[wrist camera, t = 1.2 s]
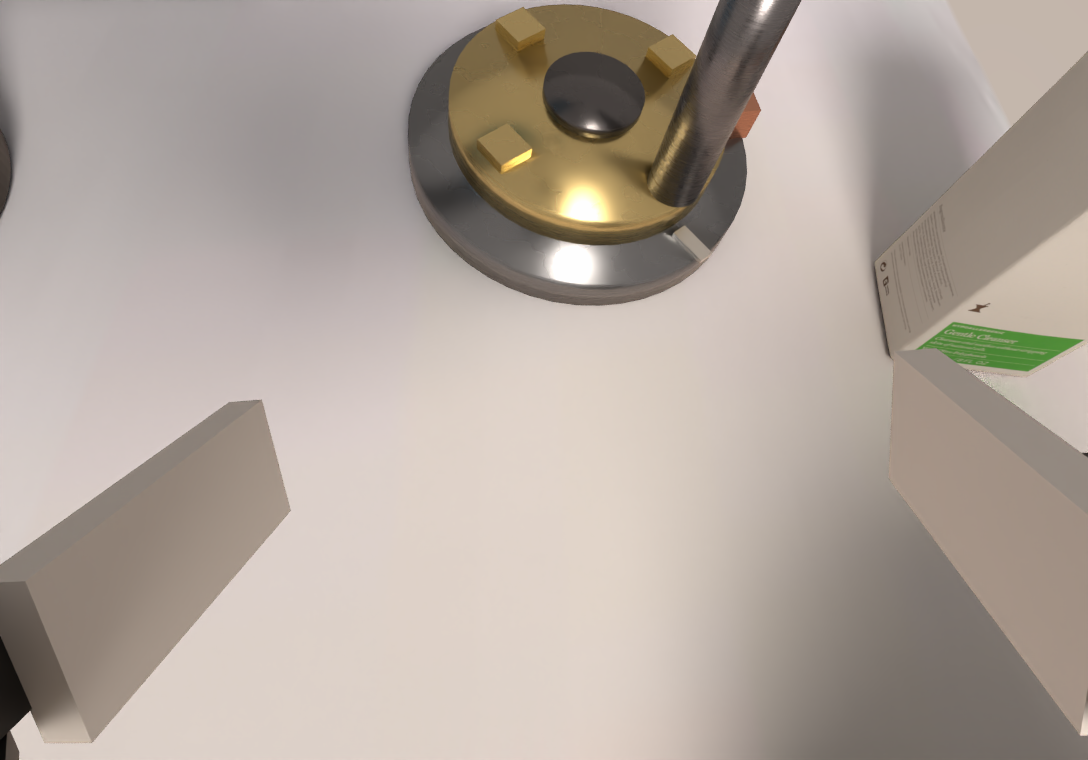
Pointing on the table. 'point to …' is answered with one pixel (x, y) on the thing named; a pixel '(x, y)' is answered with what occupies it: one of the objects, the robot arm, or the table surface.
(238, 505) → the robot arm
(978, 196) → the skincare box
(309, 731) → the table surface
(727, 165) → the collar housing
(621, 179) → the brass disc with post
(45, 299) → the table surface
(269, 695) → the table surface
